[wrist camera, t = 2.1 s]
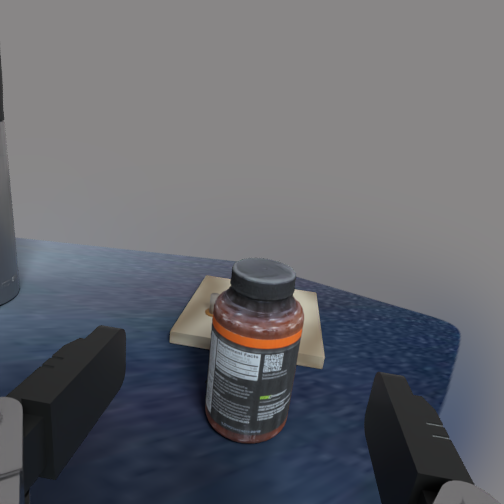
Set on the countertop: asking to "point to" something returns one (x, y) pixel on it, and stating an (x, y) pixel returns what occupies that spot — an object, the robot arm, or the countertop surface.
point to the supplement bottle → (253, 351)
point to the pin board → (201, 313)
